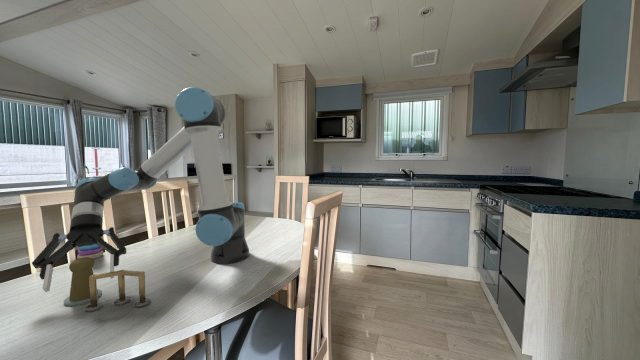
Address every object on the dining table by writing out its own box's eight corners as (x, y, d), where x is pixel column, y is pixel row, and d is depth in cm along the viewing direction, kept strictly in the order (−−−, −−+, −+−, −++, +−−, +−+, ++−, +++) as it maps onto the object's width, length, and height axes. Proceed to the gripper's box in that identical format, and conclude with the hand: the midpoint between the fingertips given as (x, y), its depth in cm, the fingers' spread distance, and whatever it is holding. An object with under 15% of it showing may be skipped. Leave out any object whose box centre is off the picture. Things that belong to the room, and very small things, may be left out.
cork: (102, 293, 73) (100, 257, 72) (75, 303, 67) (72, 264, 66) (91, 288, 75) (89, 253, 74) (64, 298, 70) (62, 260, 69)
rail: (152, 292, 74) (151, 263, 74) (150, 305, 68) (148, 273, 67) (87, 306, 67) (85, 274, 66) (78, 322, 60) (75, 286, 60)
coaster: (104, 288, 76) (104, 286, 76) (98, 300, 70) (98, 298, 70) (69, 295, 72) (69, 293, 72) (58, 309, 66) (58, 307, 66)
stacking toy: (87, 261, 97) (85, 214, 96) (72, 259, 99) (69, 213, 97) (108, 254, 105) (106, 211, 104) (93, 253, 106) (91, 210, 105)
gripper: (135, 220, 89) (136, 276, 78) (34, 231, 75) (17, 301, 64) (134, 208, 85) (135, 266, 74) (26, 217, 70) (7, 290, 59)
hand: (80, 282), depth 69 cm, fingers open, 13 cm apart
